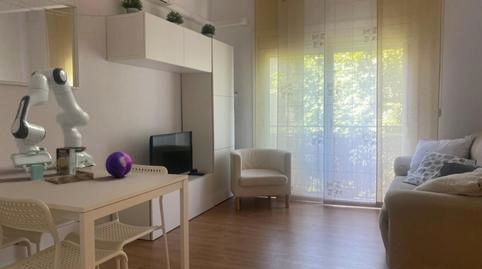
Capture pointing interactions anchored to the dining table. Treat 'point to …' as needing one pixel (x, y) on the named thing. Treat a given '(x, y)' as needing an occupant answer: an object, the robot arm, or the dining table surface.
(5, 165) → the dining table surface
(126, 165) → the decorative orb
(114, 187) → the dining table surface
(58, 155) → the coffee box
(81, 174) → the tray
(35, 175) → the teal block
